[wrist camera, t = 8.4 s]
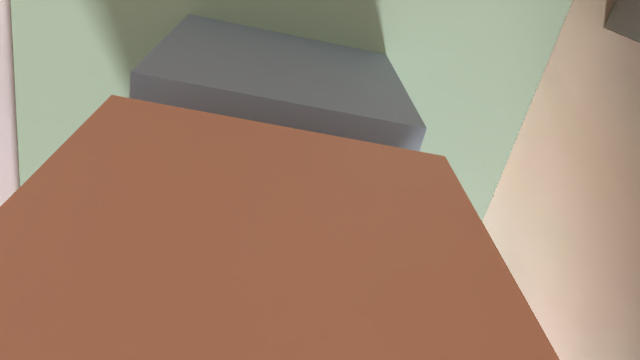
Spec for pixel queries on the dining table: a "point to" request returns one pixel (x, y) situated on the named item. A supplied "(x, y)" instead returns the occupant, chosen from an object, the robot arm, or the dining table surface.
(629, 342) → the dining table surface
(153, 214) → the brick
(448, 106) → the board
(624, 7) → the gray cube
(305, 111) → the base brick
